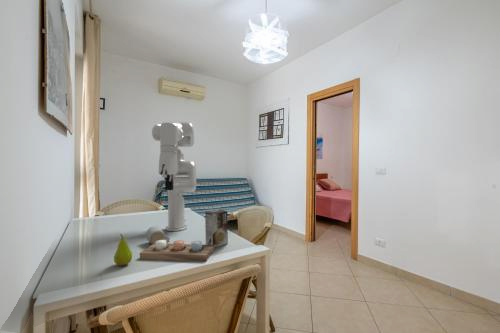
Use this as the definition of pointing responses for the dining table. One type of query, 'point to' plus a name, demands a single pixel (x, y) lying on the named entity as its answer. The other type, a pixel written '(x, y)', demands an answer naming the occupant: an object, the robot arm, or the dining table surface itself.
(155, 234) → the ceramic mug
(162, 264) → the dining table surface
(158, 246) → the white egg
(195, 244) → the blue egg
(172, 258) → the walnut board
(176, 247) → the salmon domed cylinder
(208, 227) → the coffee box
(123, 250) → the fruit
